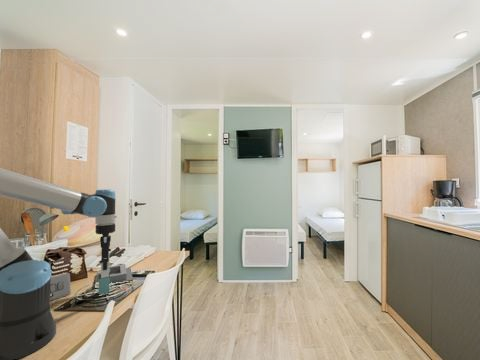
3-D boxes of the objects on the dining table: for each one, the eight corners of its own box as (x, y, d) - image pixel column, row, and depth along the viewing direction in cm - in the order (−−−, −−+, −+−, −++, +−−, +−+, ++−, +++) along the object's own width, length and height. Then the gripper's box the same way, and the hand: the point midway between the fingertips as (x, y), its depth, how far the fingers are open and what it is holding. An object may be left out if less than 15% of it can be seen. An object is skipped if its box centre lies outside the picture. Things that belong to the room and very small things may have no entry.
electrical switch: (42, 303, 87) (42, 280, 88) (39, 300, 90) (40, 278, 91) (71, 294, 94) (71, 273, 95) (67, 292, 97) (67, 271, 98)
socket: (132, 281, 107) (133, 273, 107) (94, 289, 99) (94, 280, 99) (130, 269, 123) (130, 262, 123) (96, 275, 115) (97, 267, 115)
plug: (109, 294, 94) (109, 271, 95) (98, 297, 92) (98, 273, 93) (109, 290, 98) (109, 268, 98) (98, 292, 96) (99, 270, 96)
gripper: (115, 227, 87) (115, 280, 87) (115, 219, 109) (115, 260, 108) (93, 230, 83) (93, 284, 83) (97, 220, 105) (97, 263, 105)
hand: (105, 271), depth 96 cm, fingers open, 13 cm apart
